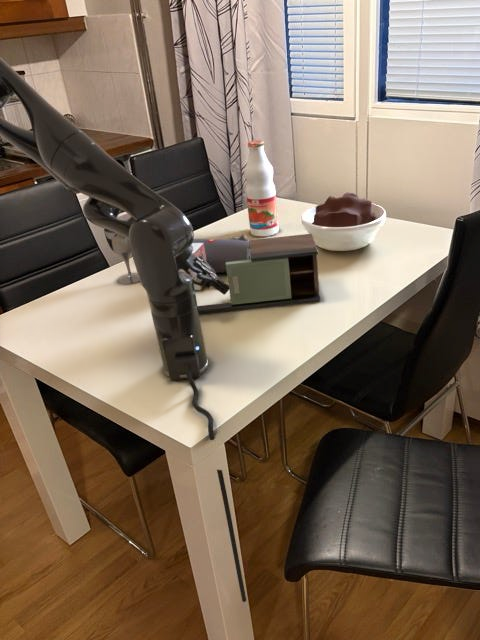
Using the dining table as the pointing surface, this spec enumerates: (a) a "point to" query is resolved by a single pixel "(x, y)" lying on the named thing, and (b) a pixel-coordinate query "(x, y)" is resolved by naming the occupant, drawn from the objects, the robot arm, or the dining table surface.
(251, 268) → the door
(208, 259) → the bluetooth speaker
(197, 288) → the small box
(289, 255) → the track
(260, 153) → the fruit juice
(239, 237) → the animal figurine
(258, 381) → the dining table surface
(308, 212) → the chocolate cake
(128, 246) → the wine glass
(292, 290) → the box
